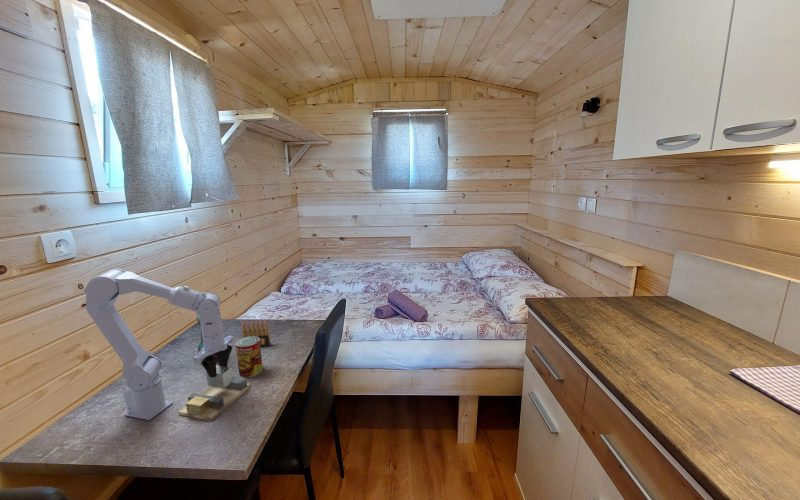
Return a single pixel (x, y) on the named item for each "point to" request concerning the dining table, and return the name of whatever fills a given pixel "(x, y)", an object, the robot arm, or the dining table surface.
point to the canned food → (249, 356)
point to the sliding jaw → (202, 403)
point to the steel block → (221, 377)
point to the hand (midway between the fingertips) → (218, 372)
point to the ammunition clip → (257, 332)
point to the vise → (227, 394)
